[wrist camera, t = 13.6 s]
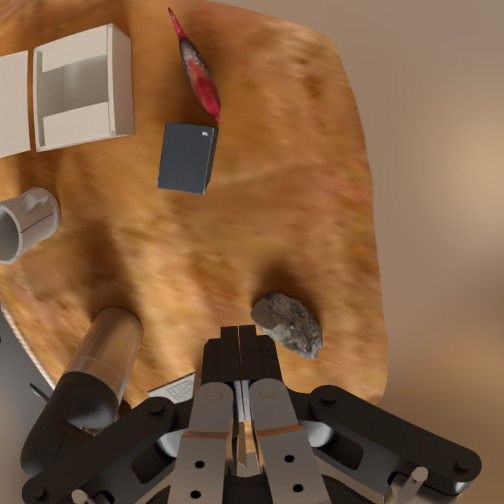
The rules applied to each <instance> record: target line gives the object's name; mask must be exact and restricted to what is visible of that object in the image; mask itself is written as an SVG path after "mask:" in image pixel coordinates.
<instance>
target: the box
mask: <svg viewBox="0 0 504 504" xmlns="http://www.w3.org/2000/svg"><path fill="white" fill-rule="evenodd" d="M218 130H219V129H217V128H213V127H207V126H200V125H193V124H185V123H176V122H166V126H165V133H164V139H163V146H162V153H161V160H160V168H159V176H158V184H157V188H162V189H169V190H176V191H182V192H189V193H195V194H201V195H203V194H204V192H205V190H206V188H207V185H208V183H209V181H210V177H211V171H212V165H213V159H214V153H215V148H216V142H217V136H218Z"/></svg>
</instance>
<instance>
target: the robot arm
mask: <svg viewBox="0 0 504 504" xmlns="http://www.w3.org/2000/svg"><path fill="white" fill-rule="evenodd" d="M142 338H143V329H142V326H141V324H140V322H139V321H138V319H137V318H136V317H135V316H134V315H133V314H131V313H130V312H128V311H127V310H124V309H122V308H118V307H109V308H106V309H103V310H102V311H101V312H100V313H99V314H98V315H97V317H96V318H95V320H94V322H93V323H92V325H91V326H90V328H89V330H88V331H87V333H86V335H85V336H84V338H83V340H82V341H81V343H80V345H79V346H78V348H77V350H76V351H75V353H74V355H73V357H72V358H71V360H70V362H69V364H68V366H67V367H66V369H65V371H64V373H63V375H62V376H61V378H60V380H59V382H58V384H57V386H56V388H55V390H54V392H53V394H52V395H51V397H50V399H49V401H48V403H47V405H46V406H45V408H44V410H43V411H42V413H41V415H40V416H39V418H38V419H37V421H36V423H35V424H34V426H33V428H32V430H31V431H30V433H29V435H28V437H27V439H26V441H25V444H24V446H23V449H22V453H21V459H20V460H21V467H22V469H23V471H24V472H25V473H26V474H28V475H29V476H31V477H32V478H31V479H29V480H28V481H27V482H26V483H25V485H24V486H23V489H22V498H23V501H24V502H25V503H26V504H134V503H135V502H137V500H139V499H140V498H141V497H143V496H144V495H145V494H146V493H148V492H149V491H150V490H151V489H152V488H154V487H155V486H156V485H157V484H158V483H159V482H161V481H162V480H163V479H164V478H165V477H166V476H168V475H169V474H170V473H171V472H172V471H173V470H174V473H173V478H172V483H171V485H169V486H167V487H166V488H164V489H162V490H161V491H159V492H158V493H157V494H156V495H154V496H153V497H152V498H151V499H150V500H149V501H148V502H147V503H145V504H375V503H373V502H372V501H370V500H368V499H367V498H365V497H364V496H362V495H360V494H359V493H357V492H356V491H354V490H353V489H351V488H349V487H348V486H346V485H345V484H343V483H342V482H340V481H338V480H336V479H334V478H332V477H329V476H327V475H323V474H321V473H320V470H319V467H318V464H317V461H316V459H315V456H314V455H316V456H318V457H319V458H321V459H322V460H324V461H325V462H327V463H329V464H330V465H332V466H333V467H335V468H336V469H338V470H340V471H342V472H343V473H345V474H346V475H348V476H350V477H352V478H353V479H355V480H357V481H358V482H360V483H362V484H363V485H365V486H367V487H369V488H370V489H373V490H374V491H376V492H378V493H379V494H381V495H383V496H384V499H383V502H384V504H454V503H455V501H456V500H457V498H458V497H459V496H460V495H461V494H462V493H463V492H464V491H465V490H466V489H467V488H468V487H469V485H470V484H471V483H472V482H473V481H474V480H475V478H476V477H477V476H478V475H479V473H480V471H481V467H482V464H481V460H480V457H479V456H478V455H477V454H476V453H475V452H474V451H472V450H470V449H468V448H465V447H463V446H460V445H458V444H456V443H453V442H451V441H448V440H447V439H444V438H442V437H440V436H437V435H435V434H433V433H431V432H429V431H426V430H424V429H422V428H420V427H418V426H415V425H413V424H411V423H409V422H407V421H405V420H403V419H401V418H399V417H397V416H395V415H393V414H390V413H388V412H386V411H384V410H382V409H380V408H378V407H376V406H374V405H372V404H370V403H368V402H366V401H364V400H363V399H361V398H359V397H357V396H355V395H353V394H351V393H349V392H347V391H345V390H343V389H341V388H339V387H337V386H333V385H324V386H320V387H317V388H315V389H314V390H313V391H312V392H311V393H310V394H308V393H300V392H295V391H293V390H291V389H289V388H288V387H287V386H286V385H285V384H284V382H283V380H282V375H281V370H280V365H279V361H278V357H277V351H276V346H275V342H274V340H273V339H272V338H271V337H270V336H269V335H258V336H257V334H256V327H255V325H242V326H239V338H238V328H237V326H228V327H221V337H220V338H217V339H209V340H208V342H207V343H206V345H205V346H204V354H203V355H204V356H203V365H202V377H201V387H200V388H198V390H197V391H196V393H195V396H194V397H192V398H191V399H189V400H186V401H183V402H179V403H175V404H174V403H173V402H172V401H171V400H170V399H168V398H166V397H162V396H155V397H151V398H148V399H146V400H145V401H143V402H142V403H140V404H139V405H138V406H136V407H135V408H133V409H132V410H131V411H129V412H128V413H127V414H125V415H124V416H122V417H121V418H120V419H118V420H117V421H115V422H114V423H113V421H114V420H115V418H116V415H117V412H118V409H119V405H120V402H121V399H122V396H123V393H124V390H125V387H126V384H127V381H128V378H129V375H130V372H131V369H132V366H133V363H134V361H135V358H136V355H137V352H138V350H139V347H140V344H141V341H142ZM239 339H240V349H239ZM240 356H241V360H240ZM241 372H242V375H241ZM242 385H243V391H242ZM243 395H244V405H245V414H246V421H251V426H252V436H253V442H254V447H255V452H256V457H257V462H258V467H259V472H260V474H258V475H255V476H252V477H246V478H245V477H237V469H238V449H239V431H240V428H239V422H243V421H244V406H243ZM112 423H113V424H112ZM109 425H110V426H109ZM76 426H79V427H85V428H91V429H100V428H105V427H107V426H108V427H107V428H106V429H104V430H103V431H101V432H100V433H98V434H97V435H96V436H93V435H91V434H89V433H87V432H85V431H84V430H82V429H80V428H78V427H76Z"/></svg>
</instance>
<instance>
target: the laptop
mask: <svg viewBox="0 0 504 504" xmlns="http://www.w3.org/2000/svg"><path fill="white" fill-rule="evenodd" d="M173 382H174V383H173ZM173 382H171V383H172V384H171V383H169V384H166V385H164V386H162V387H160V388H157V389H155V390H153V391H150V392H148V393H147V394H148V395H149V396H150V397H155V396H162V397H166V398H168V399H170V400H171V401H172V402H173V403H174V404H175V403H179V402H183V401H186V400H189V399H191V398H192V397H194V396H195V393H196V391H197V390H198V388H200V387H201V378H200V377H199V376H198V374H197V373H193V374H190V375H188V376H185V377H184V379H183V378H182V379H179V381H178V380H177V381H173ZM239 428H240V431H239V449H238V462H239V463H240V464H241V465H242V466H244V467H245V468H247V461H246V445H245V429H244V423H243V422H239Z"/></svg>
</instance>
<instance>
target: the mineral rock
mask: <svg viewBox="0 0 504 504" xmlns="http://www.w3.org/2000/svg"><path fill="white" fill-rule="evenodd" d="M251 318H252V320H253V321H254V323H255V324H256V325H257V326H258V327H259V328H260V330H261V331H262V332H263V333H264V334H265V335H269V336H270V337H271V338H273V339H275V340H278V342H279V343H280V344H282V345H283V346H284V347H285V348H287V349H289V350H291V351H293V352H295V353H297V354H301V355H302V357H304V358H308V357H309V358H314V359H315V358H317V353H318V350H320V349H321V348H322V347H323V339H322V330H321V329H320V327H319V325H318V324H317V322H316V320H314V319H313V316H312V315H310V314H309V313H308V311H307V309H306V307H303V306H302V304H301V303H300V301H298V300H294V299H290V298H288V297H287V296H285V295H283V294H281V293H276V292H272V293H270V294H269V295H268V296H266V297H264V298H262V299H260V300H259V301H258V302H257V303H256V304H255V305H254V307H253V309H252V311H251Z"/></svg>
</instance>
